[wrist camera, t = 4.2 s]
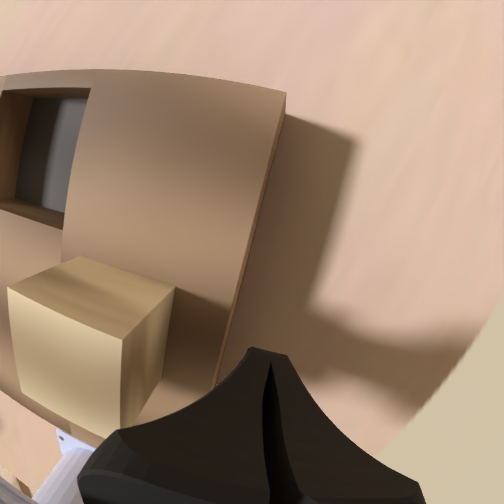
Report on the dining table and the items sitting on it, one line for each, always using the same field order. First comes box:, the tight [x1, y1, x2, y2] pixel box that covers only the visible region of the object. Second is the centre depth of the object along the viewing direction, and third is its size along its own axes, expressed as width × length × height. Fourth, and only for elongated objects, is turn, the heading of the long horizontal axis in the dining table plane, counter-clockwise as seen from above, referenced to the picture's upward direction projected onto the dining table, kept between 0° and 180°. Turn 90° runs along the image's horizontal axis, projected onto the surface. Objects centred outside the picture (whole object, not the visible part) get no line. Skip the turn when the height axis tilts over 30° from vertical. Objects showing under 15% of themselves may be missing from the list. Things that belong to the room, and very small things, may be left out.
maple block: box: [7, 256, 175, 439], centre depth 9 cm, size 4×4×4 cm
